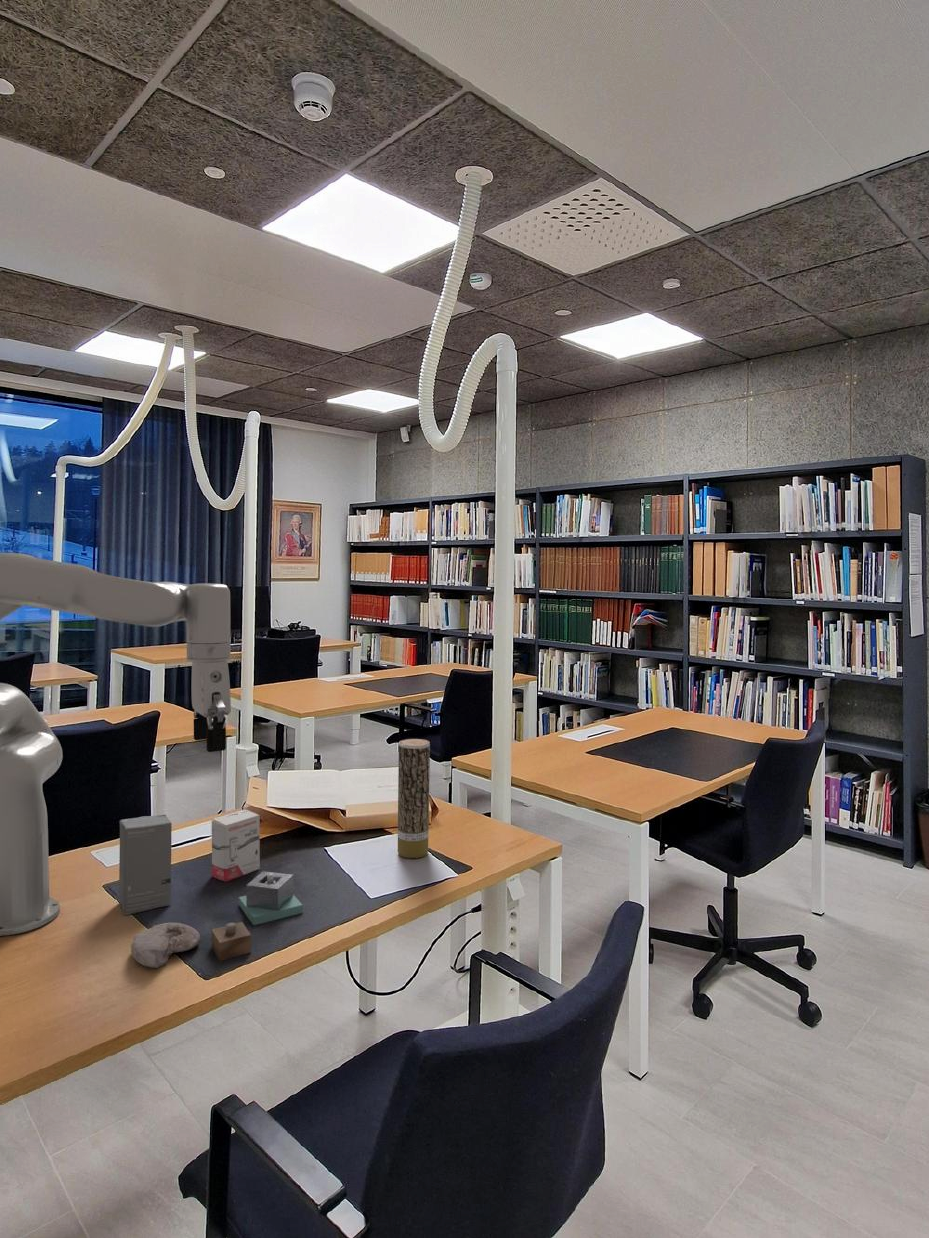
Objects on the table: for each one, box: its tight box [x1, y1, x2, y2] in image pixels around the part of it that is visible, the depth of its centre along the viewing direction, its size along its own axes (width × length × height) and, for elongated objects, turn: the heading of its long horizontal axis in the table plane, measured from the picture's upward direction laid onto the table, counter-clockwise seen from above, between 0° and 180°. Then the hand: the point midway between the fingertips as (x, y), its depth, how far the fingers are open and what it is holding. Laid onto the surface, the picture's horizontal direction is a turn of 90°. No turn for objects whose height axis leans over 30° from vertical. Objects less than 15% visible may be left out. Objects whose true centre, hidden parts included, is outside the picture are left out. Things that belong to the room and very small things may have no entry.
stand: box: [211, 921, 252, 962], centre depth 118 cm, size 5×5×4 cm
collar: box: [245, 871, 294, 911], centre depth 133 cm, size 6×6×4 cm
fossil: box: [130, 922, 201, 969], centre depth 117 cm, size 12×4×10 cm
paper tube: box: [397, 738, 431, 859], centre depth 159 cm, size 7×7×25 cm
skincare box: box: [118, 814, 173, 916], centre depth 134 cm, size 8×7×16 cm
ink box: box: [211, 809, 261, 883], centre depth 148 cm, size 9×5×12 cm, turn 143°
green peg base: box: [238, 873, 304, 926], centre depth 133 cm, size 9×9×6 cm
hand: (209, 744), depth 132 cm, fingers open, 9 cm apart
